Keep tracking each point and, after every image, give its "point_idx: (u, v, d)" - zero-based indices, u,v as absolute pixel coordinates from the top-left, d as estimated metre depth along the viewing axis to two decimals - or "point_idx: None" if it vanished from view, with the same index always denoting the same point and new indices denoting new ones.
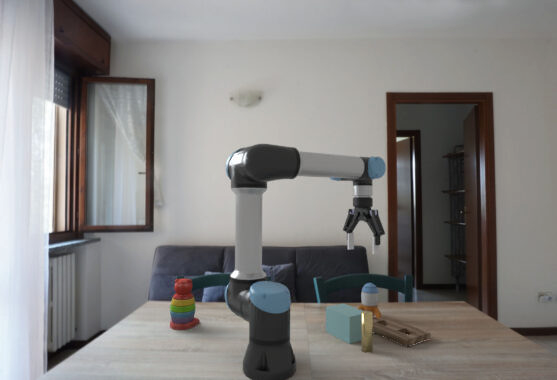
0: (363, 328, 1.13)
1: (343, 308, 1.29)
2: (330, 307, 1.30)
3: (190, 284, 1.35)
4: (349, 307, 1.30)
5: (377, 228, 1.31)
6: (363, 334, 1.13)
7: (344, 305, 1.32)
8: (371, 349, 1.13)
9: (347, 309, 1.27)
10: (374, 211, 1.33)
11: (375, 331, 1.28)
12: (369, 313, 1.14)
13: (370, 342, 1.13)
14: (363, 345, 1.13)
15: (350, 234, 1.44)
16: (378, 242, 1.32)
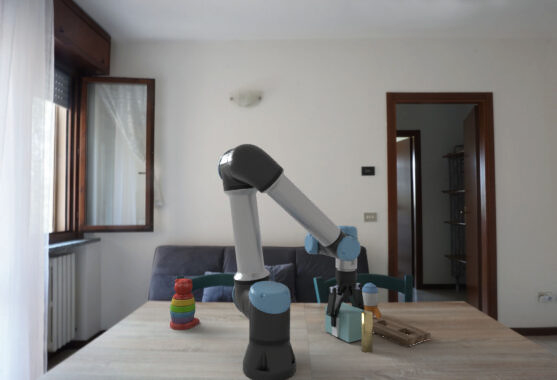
0: (363, 328, 1.13)
1: (342, 307, 1.28)
2: None
3: (190, 284, 1.35)
4: (348, 306, 1.30)
5: None
6: (363, 334, 1.13)
7: (343, 304, 1.32)
8: (371, 349, 1.13)
9: (346, 308, 1.27)
10: (330, 289, 1.24)
11: (375, 331, 1.28)
12: (369, 313, 1.14)
13: (370, 342, 1.13)
14: (363, 345, 1.13)
15: None
16: (331, 323, 1.24)
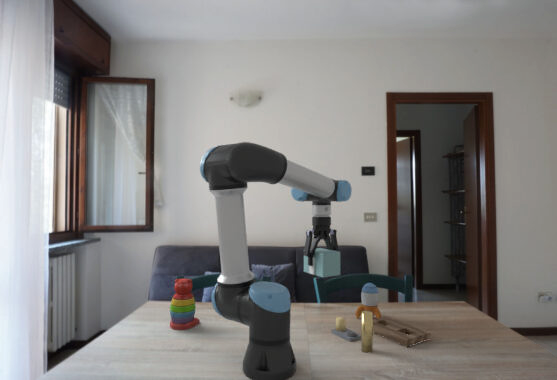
0: (363, 328, 1.13)
1: (319, 250, 1.45)
2: None
3: (190, 284, 1.35)
4: (324, 249, 1.46)
5: None
6: (363, 334, 1.13)
7: (320, 248, 1.48)
8: (371, 349, 1.13)
9: (322, 250, 1.43)
10: (306, 232, 1.40)
11: (375, 331, 1.28)
12: (369, 313, 1.14)
13: (370, 342, 1.13)
14: (363, 345, 1.13)
15: None
16: (308, 262, 1.40)
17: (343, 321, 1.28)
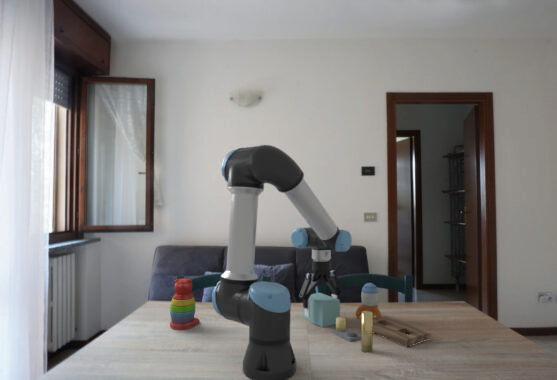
0: (363, 328, 1.13)
1: (318, 296, 1.44)
2: None
3: (190, 284, 1.35)
4: (324, 295, 1.45)
5: None
6: (363, 334, 1.13)
7: (320, 294, 1.48)
8: (371, 349, 1.13)
9: (322, 297, 1.43)
10: (306, 275, 1.40)
11: (375, 331, 1.28)
12: (369, 313, 1.14)
13: (370, 342, 1.13)
14: (363, 345, 1.13)
15: (332, 295, 1.46)
16: (303, 305, 1.39)
17: (343, 321, 1.28)
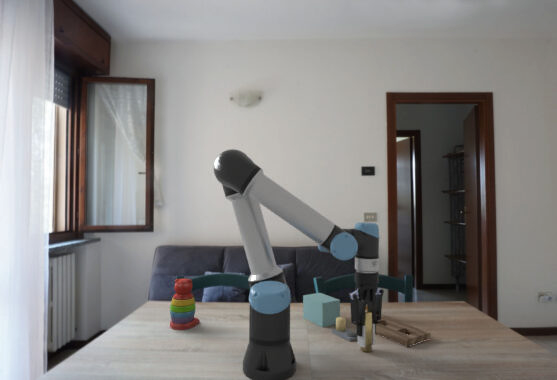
0: None
1: (318, 296, 1.44)
2: (307, 295, 1.45)
3: (190, 284, 1.35)
4: (324, 295, 1.45)
5: None
6: None
7: (320, 294, 1.48)
8: (370, 348, 1.13)
9: (322, 297, 1.43)
10: (350, 296, 1.12)
11: None
12: (369, 312, 1.14)
13: (369, 341, 1.13)
14: None
15: None
16: (357, 332, 1.13)
17: (343, 321, 1.28)
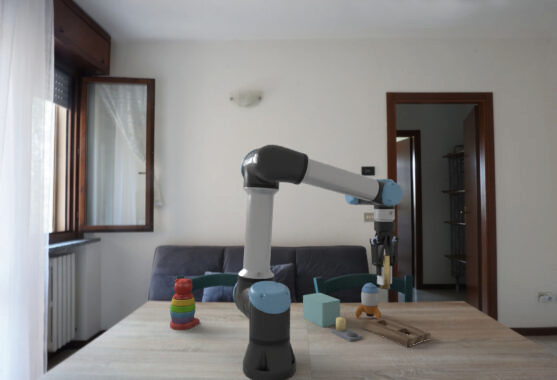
0: None
1: (318, 296, 1.44)
2: (307, 295, 1.45)
3: (190, 284, 1.35)
4: (324, 295, 1.45)
5: None
6: None
7: (320, 294, 1.48)
8: (388, 286, 1.32)
9: (322, 297, 1.43)
10: (370, 241, 1.31)
11: (375, 331, 1.28)
12: (387, 255, 1.32)
13: (388, 280, 1.31)
14: None
15: None
16: (377, 272, 1.32)
17: (343, 321, 1.28)
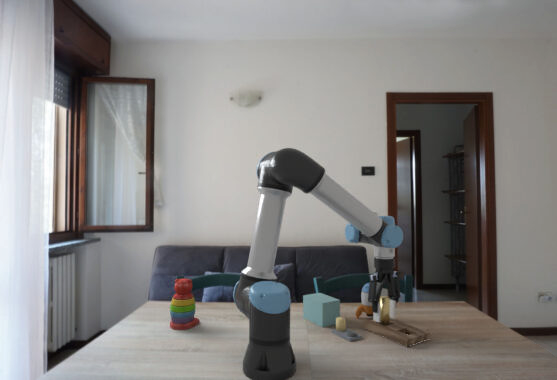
0: (381, 310, 1.32)
1: (318, 296, 1.44)
2: (307, 295, 1.45)
3: (190, 284, 1.35)
4: (324, 295, 1.45)
5: None
6: (381, 315, 1.32)
7: (320, 294, 1.48)
8: None
9: (322, 297, 1.43)
10: (370, 277, 1.30)
11: (375, 331, 1.28)
12: (387, 297, 1.32)
13: (387, 322, 1.31)
14: None
15: (390, 301, 1.35)
16: (373, 309, 1.30)
17: (343, 321, 1.28)
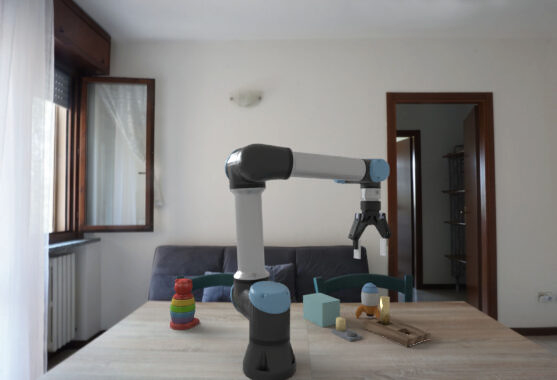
0: (381, 310, 1.32)
1: (318, 296, 1.44)
2: (307, 295, 1.45)
3: (190, 284, 1.35)
4: (324, 295, 1.45)
5: None
6: (381, 315, 1.32)
7: (320, 294, 1.48)
8: None
9: (322, 297, 1.43)
10: (355, 215, 1.31)
11: (375, 331, 1.28)
12: (386, 297, 1.32)
13: (387, 322, 1.31)
14: None
15: (381, 239, 1.38)
16: (353, 246, 1.30)
17: (343, 321, 1.28)
